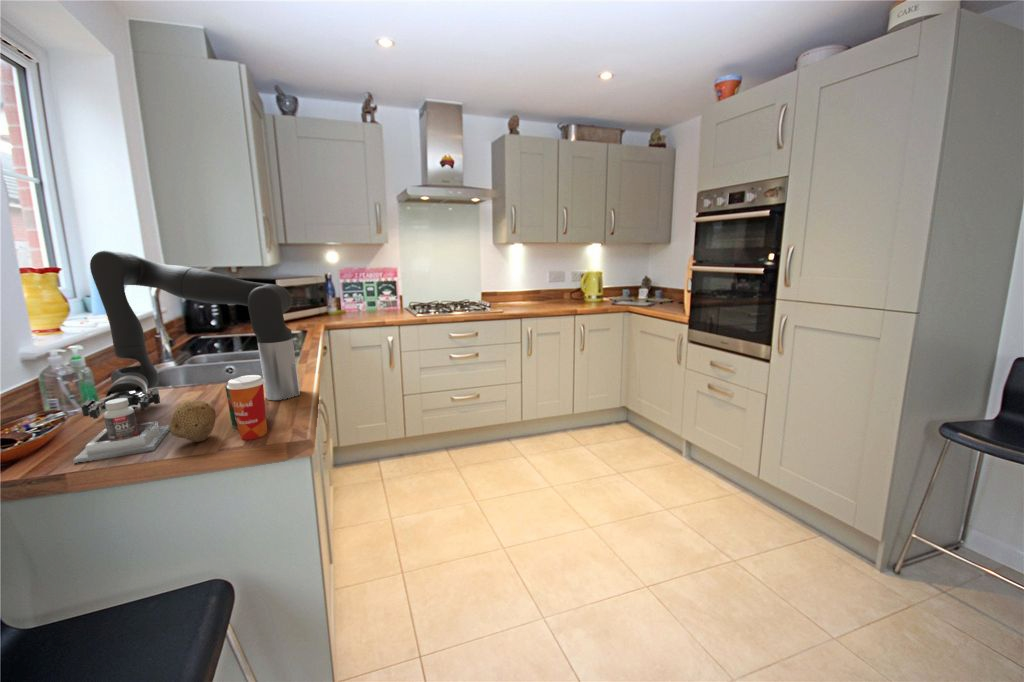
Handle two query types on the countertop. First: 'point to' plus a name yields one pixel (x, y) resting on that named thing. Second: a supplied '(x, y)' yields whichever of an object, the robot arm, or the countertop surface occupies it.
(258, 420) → the paper cup
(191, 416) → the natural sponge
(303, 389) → the countertop surface
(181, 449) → the countertop surface
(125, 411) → the pill bottle
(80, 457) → the duct collar
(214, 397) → the countertop surface
